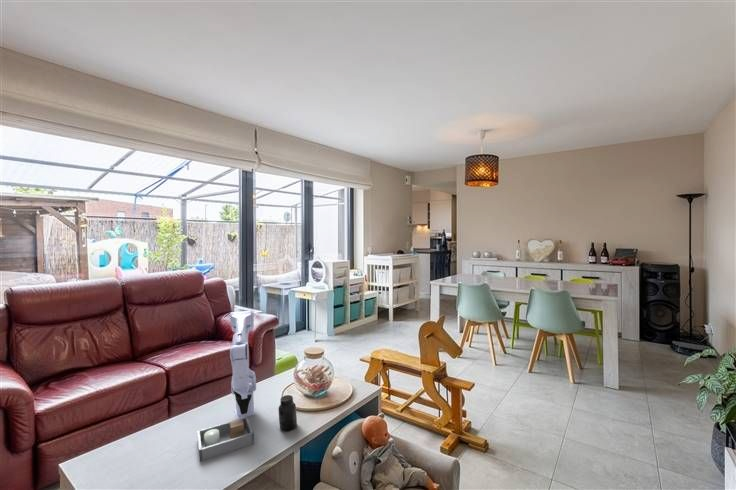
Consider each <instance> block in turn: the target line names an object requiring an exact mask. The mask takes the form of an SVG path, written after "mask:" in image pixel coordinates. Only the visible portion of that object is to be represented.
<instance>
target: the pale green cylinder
mask: <svg viewBox="0 0 736 490" xmlns="http://www.w3.org/2000/svg"><path fill="white" fill-rule="evenodd" d="M204 441H205V447H207V446H211V445H214V444H217V443H220V437H219V430H218V429H212V430H209V431H207V432H206V433H205V434H204Z"/></svg>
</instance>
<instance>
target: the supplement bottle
mask: <svg viewBox="0 0 736 490" xmlns="http://www.w3.org/2000/svg"><path fill="white" fill-rule="evenodd" d="M296 405H297V404H296V403H295V402H294V397H293V396H292V395H290V394H288V395H284V396H281V397H280V404H279V406H278V410H277V411H278V421H279V422H278V423H279V424H278V425H279V429H280V430H281V431H282V432H291V431H293V430H295V429H296V428H297V426H298V422H297V420H298V417H297V406H296Z"/></svg>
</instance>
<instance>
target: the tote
mask: <svg viewBox="0 0 736 490" xmlns="http://www.w3.org/2000/svg"><path fill="white" fill-rule="evenodd" d="M240 419H242V420H243V423H244V435H243V436H239V437H236V438H233V439H231V438H230V423H229V422H231V421H235V420H238V419H237V418H236V419H234V420H231V421H227V422H223V423H219V424H216V425H213V426H210V427H206V428H203V429H199V430H197V431H196V434H197V435H196V436H197V444H198V445H197V446H198V447H197V448H198V455H199V456H198V457H199V462H202V461H206V460H209V459H211V458H215V457H218V456H220V455H224V454H226V453H229V452H234V451H237V450H239V449H242V448H245V447H248V446H251V445H254V444H255V436H254V435H255V434H254V433H255V432H254V431H253V427H252V425H251V422H250V420H249V416H247V417H243V418H240ZM212 429H218V430H219V437H220V443H217V444H214V445H211V446H207V447H205V441H204V434H205V433H206V432H207V431H209V430H212Z"/></svg>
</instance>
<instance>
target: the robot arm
mask: <svg viewBox="0 0 736 490" xmlns="http://www.w3.org/2000/svg"><path fill="white" fill-rule="evenodd" d="M229 313H230V314H229V323H230V324H229V325H230V327H231V330H232V332H233V333H234V334H233V335H232V341H231V342H232V343H231V344H232V345H231V346H230V349H229V357H230V361H231V363H230V364H231V368H232V375H231V383H230V384H231V386H230V387H231V388H230V391H231V394H232V395H233V396H234V399H235V408H234V409H233V412H234V414H235V417H236V420H237V419H240V418H244V417H250V416H254V415H257V411H256V408H255V402H254V401H255V400H254V392H256V390H257V377H256V373H255V371H254V370H251V369H250V367H249V365H250V363H249V361H250V358H249V356H250V355H249V354H250V353H249V352H250V351H249V350H250V349H249V334H250V332H251V331H252V330H254V324H255V323H254V322H255V319H254V317H255V315H254V311H253V310H251V309H250V310H244V311H243V310H242V311H241V310H240V311H231V312H229Z"/></svg>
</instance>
